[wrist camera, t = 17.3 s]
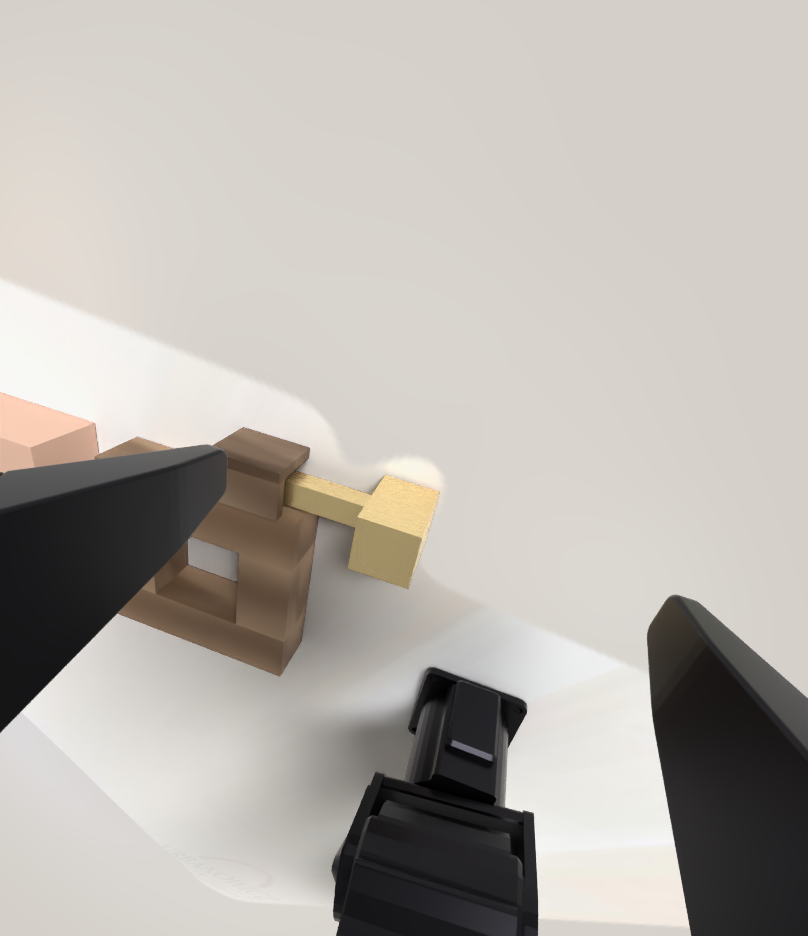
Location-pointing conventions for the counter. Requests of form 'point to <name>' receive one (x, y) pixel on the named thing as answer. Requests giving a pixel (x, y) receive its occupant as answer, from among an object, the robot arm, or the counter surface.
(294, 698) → the counter surface
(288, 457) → the socket block
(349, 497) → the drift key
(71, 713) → the counter surface
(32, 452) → the block
